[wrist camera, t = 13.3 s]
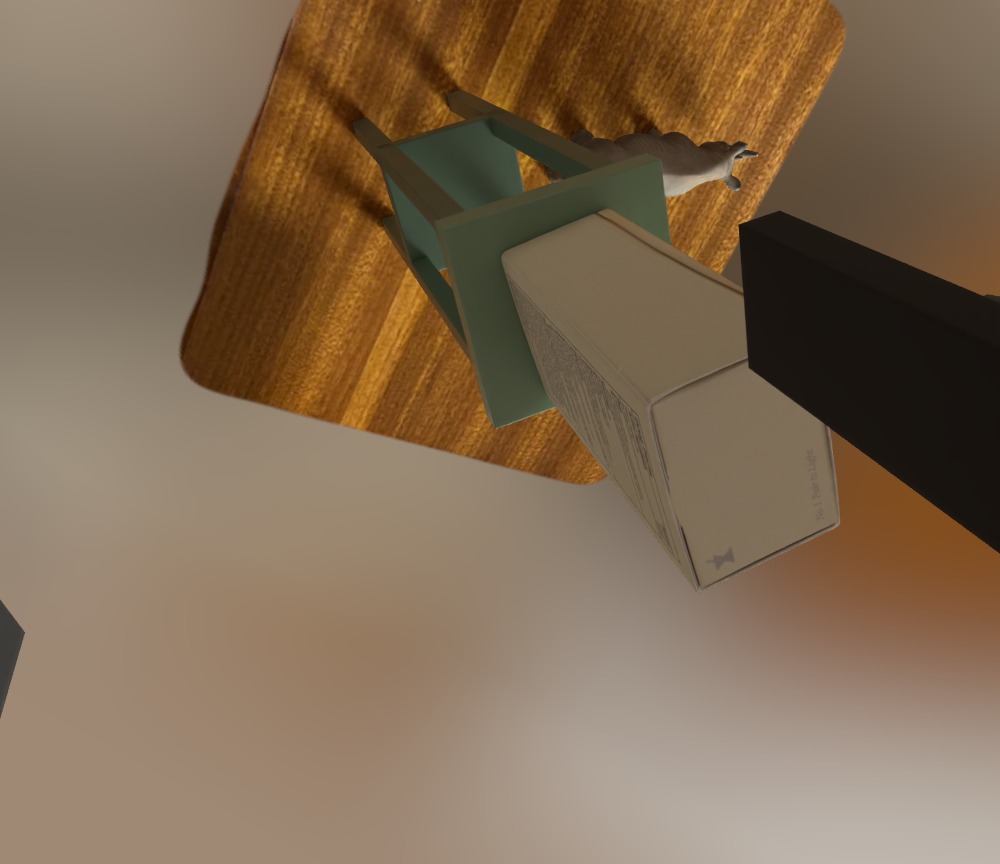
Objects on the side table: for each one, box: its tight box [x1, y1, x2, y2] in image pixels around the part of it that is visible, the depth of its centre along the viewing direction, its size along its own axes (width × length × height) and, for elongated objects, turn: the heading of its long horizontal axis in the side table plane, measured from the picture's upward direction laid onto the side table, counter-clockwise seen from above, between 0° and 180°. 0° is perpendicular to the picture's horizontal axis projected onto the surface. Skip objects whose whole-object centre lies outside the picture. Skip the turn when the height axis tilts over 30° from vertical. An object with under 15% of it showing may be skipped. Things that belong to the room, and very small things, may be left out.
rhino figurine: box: [547, 128, 758, 197], centre depth 53 cm, size 4×14×6 cm, turn 90°
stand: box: [352, 90, 617, 364], centre depth 41 cm, size 7×7×25 cm
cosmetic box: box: [501, 208, 840, 593], centre depth 25 cm, size 6×4×12 cm
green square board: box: [434, 153, 671, 429], centre depth 30 cm, size 8×8×1 cm
